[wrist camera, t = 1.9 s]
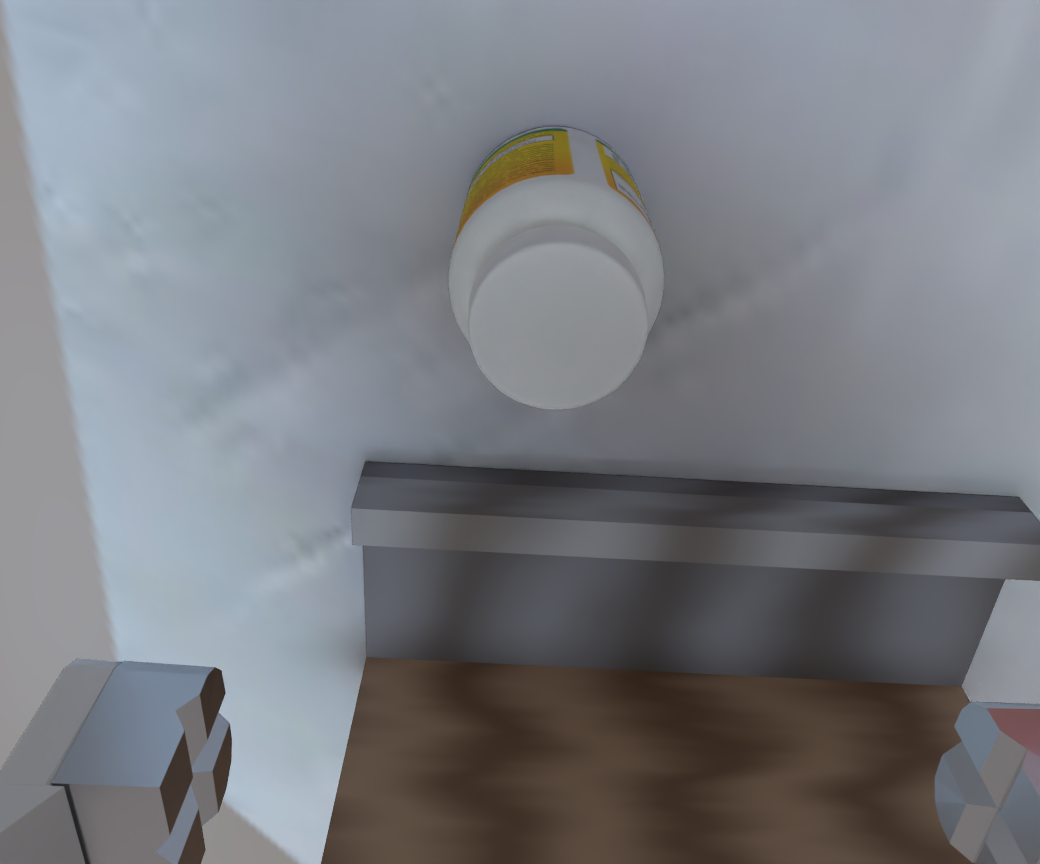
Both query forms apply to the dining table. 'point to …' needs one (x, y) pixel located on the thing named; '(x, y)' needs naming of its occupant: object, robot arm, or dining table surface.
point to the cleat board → (661, 667)
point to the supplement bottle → (555, 269)
